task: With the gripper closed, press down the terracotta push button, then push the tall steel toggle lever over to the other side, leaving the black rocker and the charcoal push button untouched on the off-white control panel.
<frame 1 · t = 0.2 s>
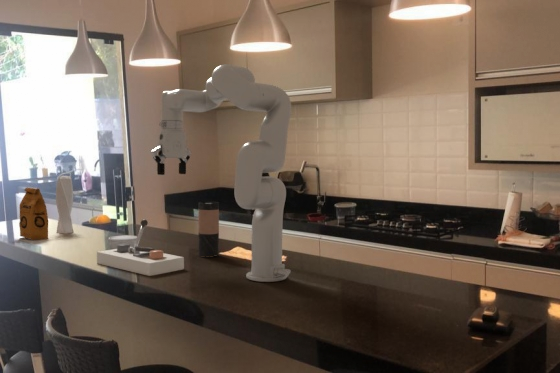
hand: (171, 174, 205), 31 cm above the counter, tool pointing down, fingers open, 9 cm apart
charcoal button: (123, 249, 199), point 5 cm above the counter, slide at 0.0 cm
travel mug: (208, 256, 214), on the counter
control panel: (139, 266, 194), on the counter
toggle lever: (139, 236, 197), point 10 cm above the counter, hinge at 25.0°
ramekin: (123, 251, 223), on the counter
black rocker: (145, 249, 192), point 6 cm above the counter, hinge at 10.0°
skyscraper: (65, 233, 267), on the counter
terracotta button: (156, 256, 188), point 5 cm above the counter, slide at 0.0 cm
coffee package: (34, 238, 249), on the counter
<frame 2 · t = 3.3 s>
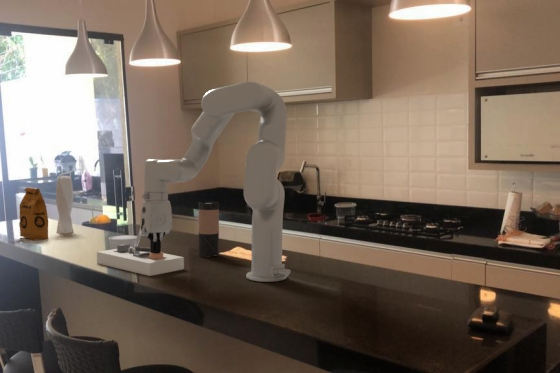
hand: (155, 252, 188), 6 cm above the counter, tool pointing down, fingers closed
terracotta button: (156, 257, 188), point 4 cm above the counter, slide at 0.5 cm, touching gripper
everything else where it was.
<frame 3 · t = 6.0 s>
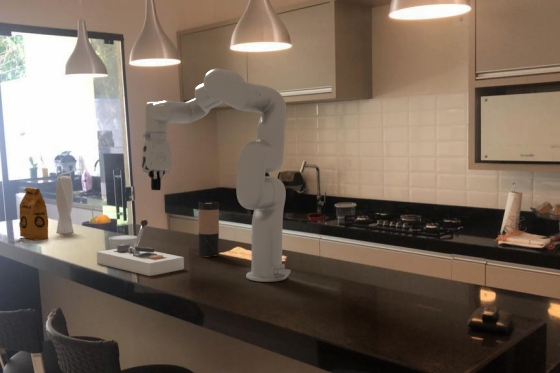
hand: (155, 189, 202), 25 cm above the counter, tool pointing down, fingers closed
terracotta button: (156, 261, 188), point 3 cm above the counter, slide at 1.6 cm
everything else where it was.
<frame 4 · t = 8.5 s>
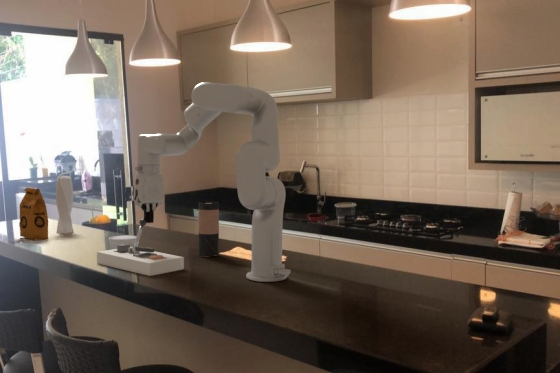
hand: (148, 222, 200), 14 cm above the counter, tool pointing down, fingers closed
toggle lever: (138, 235, 197), point 10 cm above the counter, hinge at 21.8°, touching gripper
everything else where it was.
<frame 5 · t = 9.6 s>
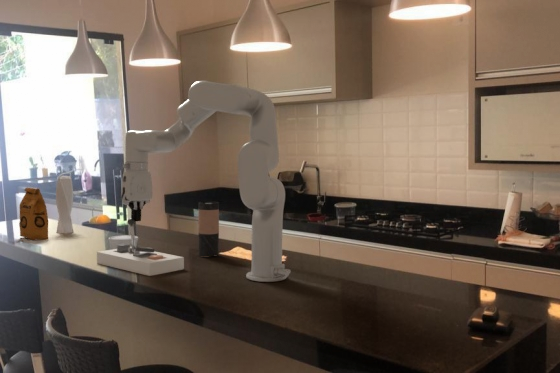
hand: (136, 220, 196), 15 cm above the counter, tool pointing down, fingers closed
toggle lever: (132, 235, 195), point 10 cm above the counter, hinge at -6.5°, touching gripper
everything else where it was.
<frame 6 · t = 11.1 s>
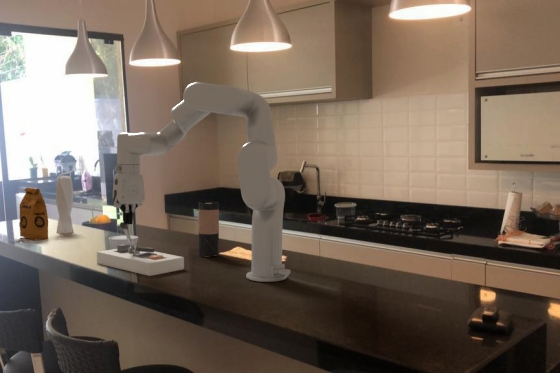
hand: (128, 223, 194), 14 cm above the counter, tool pointing down, fingers closed
toggle lever: (128, 237, 194), point 10 cm above the counter, hinge at -25.1°, touching gripper
everything else where it was.
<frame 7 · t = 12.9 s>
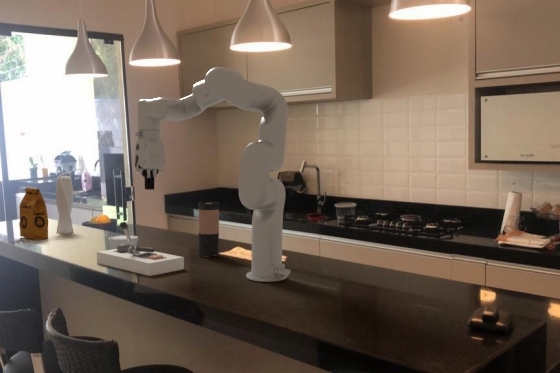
hand: (149, 189, 197), 26 cm above the counter, tool pointing down, fingers closed
toggle lever: (128, 237, 194), point 10 cm above the counter, hinge at -25.2°
everything else where it was.
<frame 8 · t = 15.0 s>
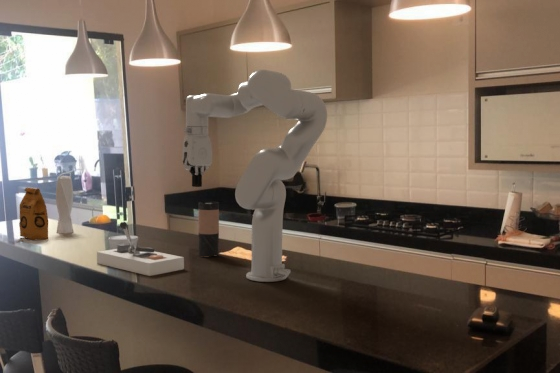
hand: (196, 186, 195), 27 cm above the counter, tool pointing down, fingers closed
nothing on the counter moved.
at the end: terracotta button slide at 1.6 cm; toggle lever at -25° (first picture: +25°); charcoal button slide at 0.0 cm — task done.
